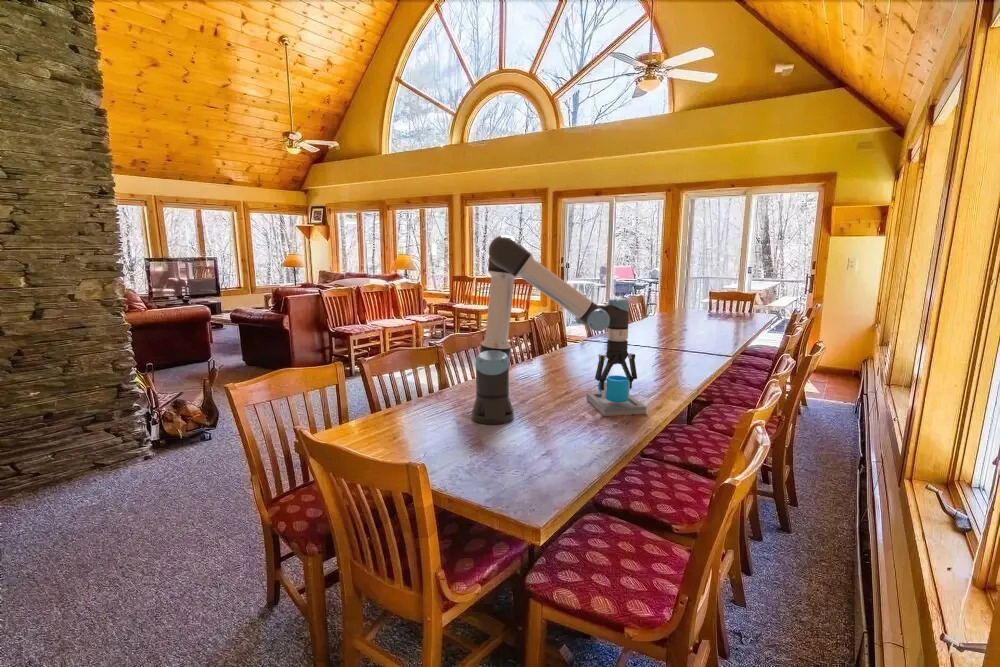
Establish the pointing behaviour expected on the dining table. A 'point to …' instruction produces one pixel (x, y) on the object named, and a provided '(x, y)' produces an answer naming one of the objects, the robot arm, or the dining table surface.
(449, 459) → the dining table surface
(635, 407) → the tray
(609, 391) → the mug
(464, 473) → the dining table surface
